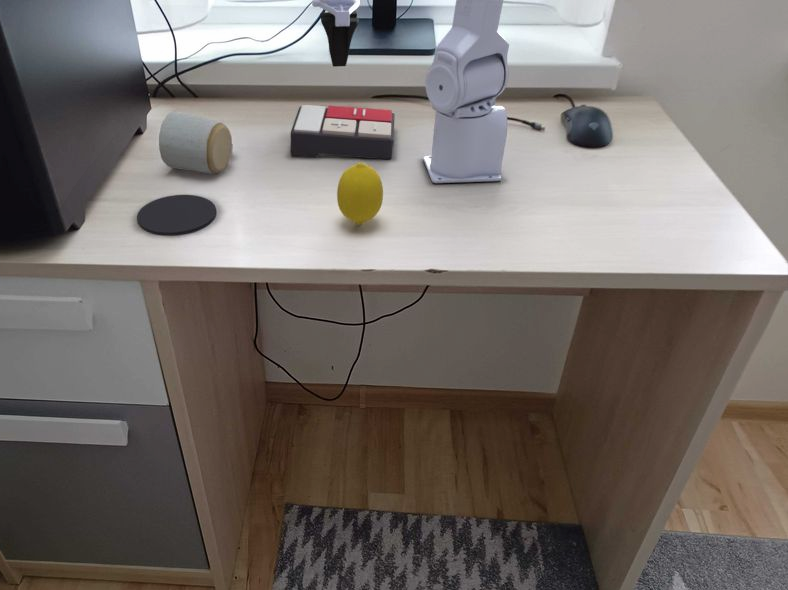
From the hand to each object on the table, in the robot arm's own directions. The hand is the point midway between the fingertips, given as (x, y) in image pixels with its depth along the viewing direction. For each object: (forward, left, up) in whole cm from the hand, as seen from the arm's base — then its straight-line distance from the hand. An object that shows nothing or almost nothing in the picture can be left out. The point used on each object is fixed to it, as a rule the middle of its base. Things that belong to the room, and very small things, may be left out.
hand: (338, 64), depth 103 cm
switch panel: (0, +11, -9) cm, 14 cm away
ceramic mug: (+21, +17, -9) cm, 28 cm away
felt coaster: (+23, +32, -8) cm, 40 cm away
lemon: (0, +36, -9) cm, 37 cm away
